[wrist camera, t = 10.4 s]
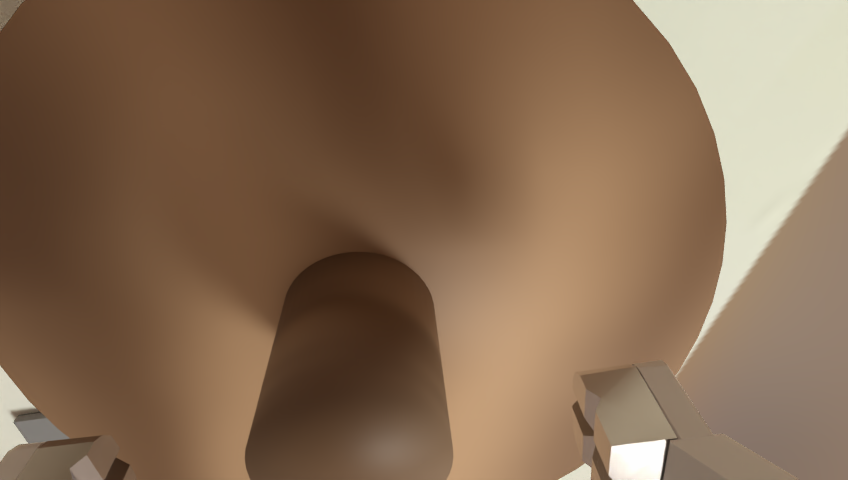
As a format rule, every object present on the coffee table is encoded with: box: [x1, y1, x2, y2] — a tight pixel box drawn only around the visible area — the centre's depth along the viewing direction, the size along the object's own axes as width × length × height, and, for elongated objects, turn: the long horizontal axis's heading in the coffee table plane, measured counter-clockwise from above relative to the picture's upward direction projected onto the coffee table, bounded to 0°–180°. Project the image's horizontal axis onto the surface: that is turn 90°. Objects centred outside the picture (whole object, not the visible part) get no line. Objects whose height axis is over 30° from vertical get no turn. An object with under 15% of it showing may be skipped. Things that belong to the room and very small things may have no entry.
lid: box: [0, 0, 726, 480], centre depth 11 cm, size 17×17×5 cm
